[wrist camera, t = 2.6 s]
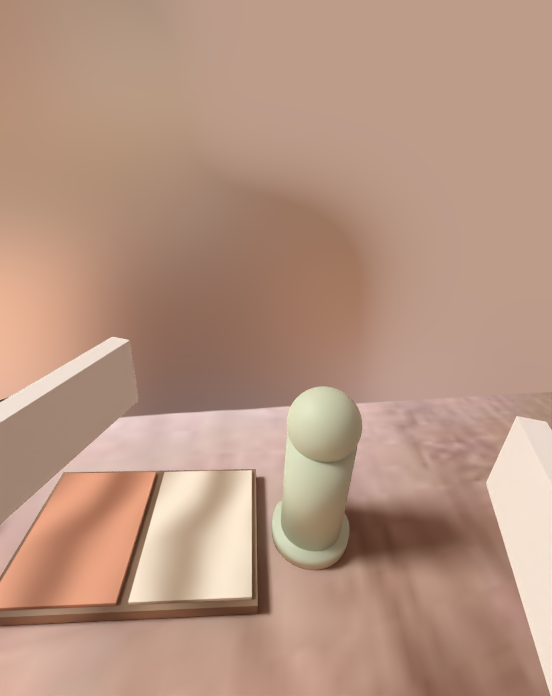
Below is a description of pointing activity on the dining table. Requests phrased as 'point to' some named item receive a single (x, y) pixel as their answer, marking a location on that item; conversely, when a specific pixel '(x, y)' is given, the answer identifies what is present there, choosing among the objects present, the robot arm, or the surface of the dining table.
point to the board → (137, 549)
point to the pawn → (317, 478)
